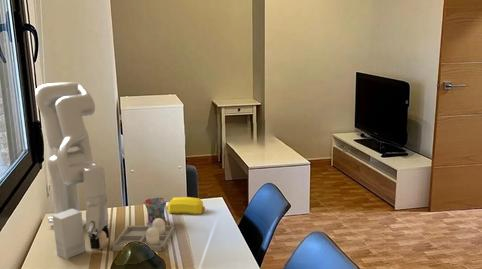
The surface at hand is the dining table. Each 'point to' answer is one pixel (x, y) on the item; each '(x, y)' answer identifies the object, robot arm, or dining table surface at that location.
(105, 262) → the dining table surface
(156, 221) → the egg
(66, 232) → the skincare box
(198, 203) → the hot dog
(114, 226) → the dining table surface
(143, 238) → the carton
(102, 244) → the egg
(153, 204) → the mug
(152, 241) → the far egg
